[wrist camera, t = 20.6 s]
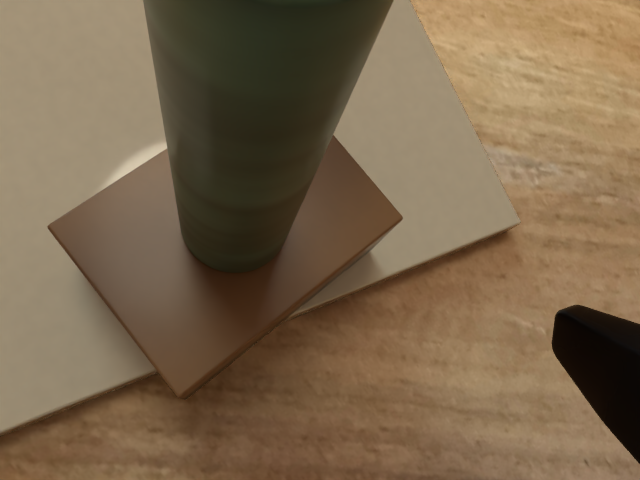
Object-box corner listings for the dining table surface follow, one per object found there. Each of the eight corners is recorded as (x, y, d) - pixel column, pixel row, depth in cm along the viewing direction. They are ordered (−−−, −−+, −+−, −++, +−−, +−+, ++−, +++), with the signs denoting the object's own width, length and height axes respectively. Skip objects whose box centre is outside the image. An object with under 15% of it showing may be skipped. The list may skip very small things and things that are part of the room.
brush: (371, 250, 19) (723, -94, 6) (184, 401, 16) (98, 377, 4) (269, 129, 19) (391, -432, 6) (76, 260, 17) (-328, -188, 4)
